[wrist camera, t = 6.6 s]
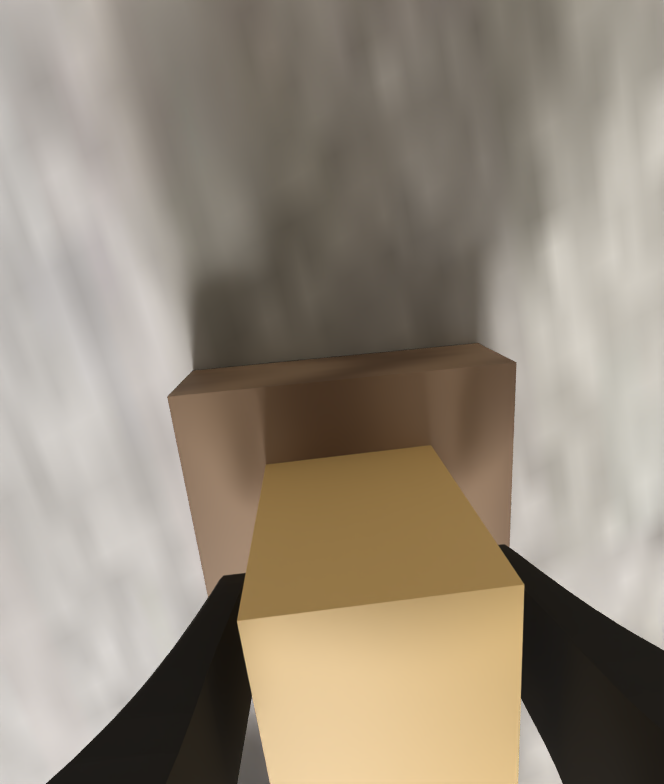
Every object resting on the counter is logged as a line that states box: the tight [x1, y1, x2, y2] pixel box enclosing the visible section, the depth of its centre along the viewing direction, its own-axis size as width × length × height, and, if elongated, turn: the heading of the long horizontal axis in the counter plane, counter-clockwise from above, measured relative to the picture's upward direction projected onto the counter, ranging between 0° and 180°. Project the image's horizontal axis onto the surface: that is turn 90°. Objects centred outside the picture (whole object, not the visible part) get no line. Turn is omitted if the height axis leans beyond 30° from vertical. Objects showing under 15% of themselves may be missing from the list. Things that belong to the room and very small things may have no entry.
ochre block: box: [237, 445, 524, 784], centre depth 11 cm, size 5×5×6 cm
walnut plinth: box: [167, 343, 516, 597], centre depth 16 cm, size 10×10×3 cm
